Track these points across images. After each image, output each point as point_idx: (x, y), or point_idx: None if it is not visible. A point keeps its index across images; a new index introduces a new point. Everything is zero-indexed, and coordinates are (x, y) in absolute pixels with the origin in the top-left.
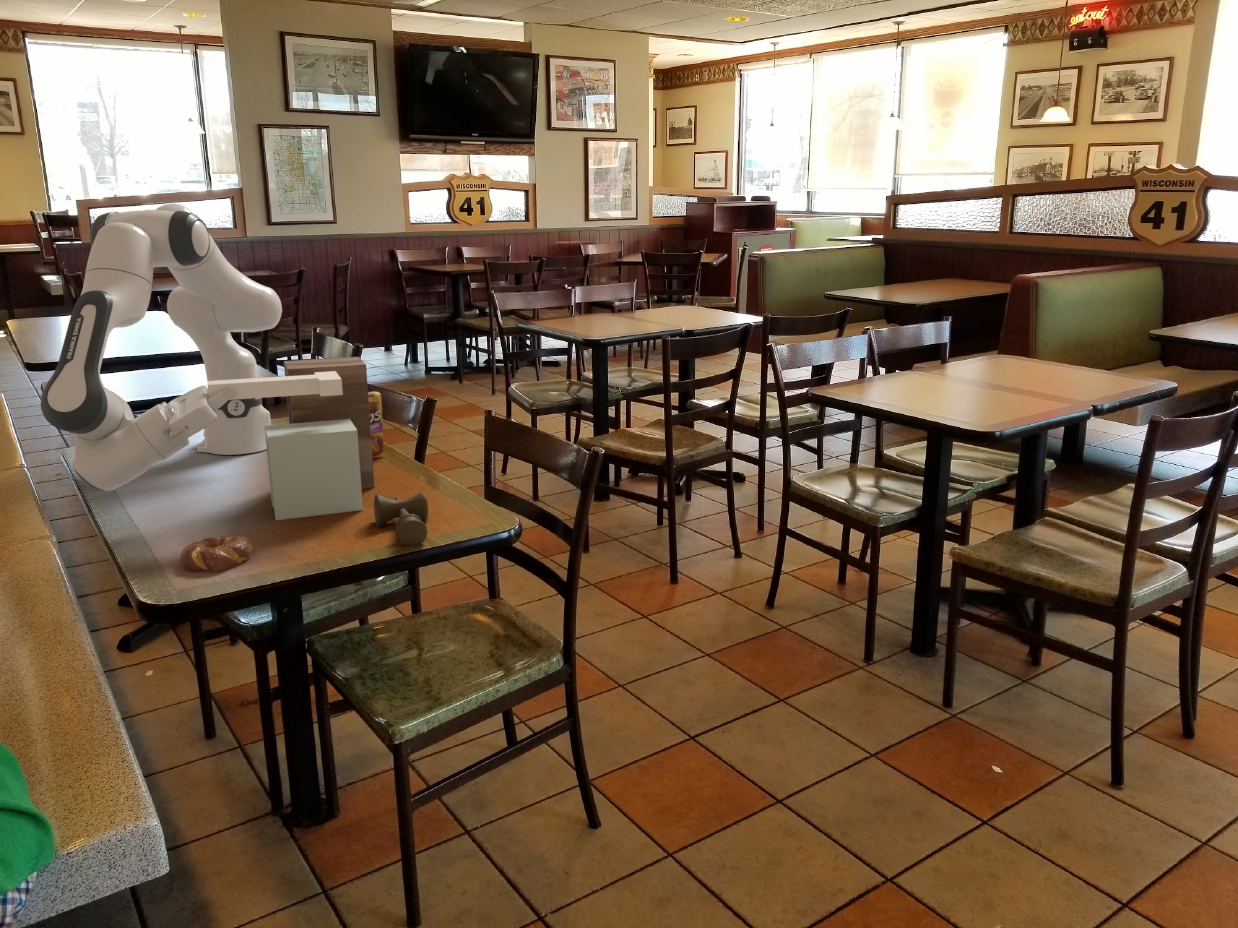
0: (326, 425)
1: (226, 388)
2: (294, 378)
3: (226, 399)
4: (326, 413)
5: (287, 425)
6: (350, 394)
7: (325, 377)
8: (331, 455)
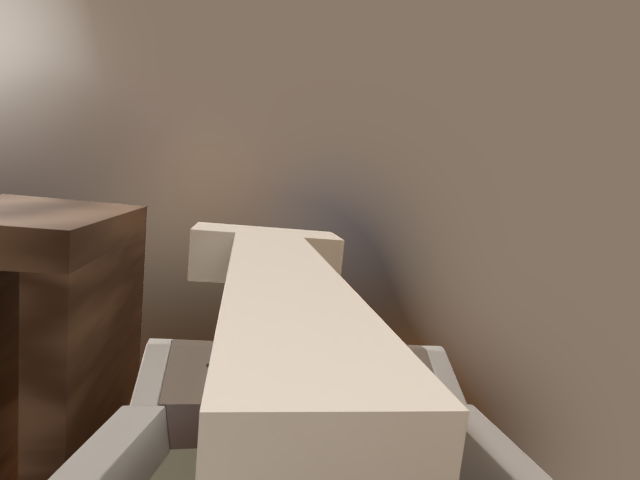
0: None
1: (428, 367)
2: (293, 247)
3: None
4: (109, 365)
5: (176, 454)
6: (132, 290)
7: (297, 234)
8: None
